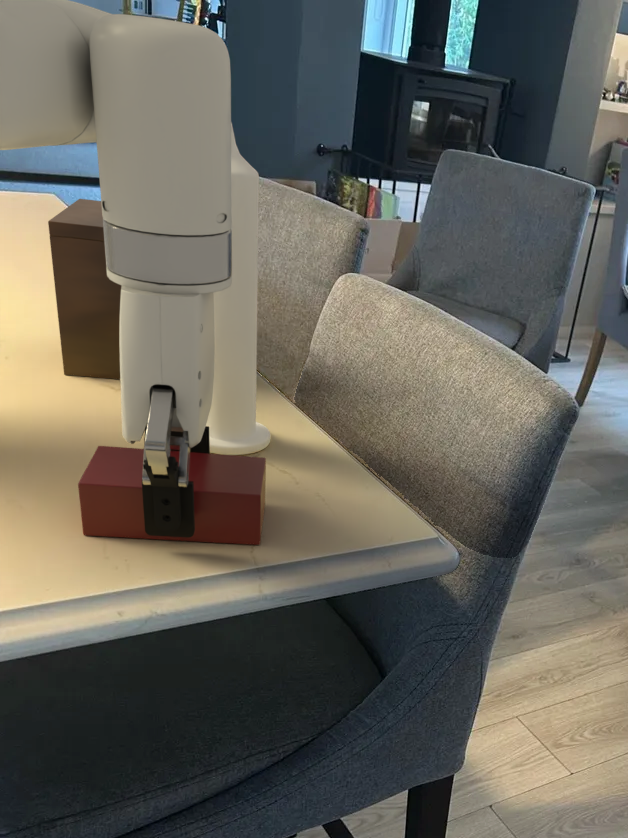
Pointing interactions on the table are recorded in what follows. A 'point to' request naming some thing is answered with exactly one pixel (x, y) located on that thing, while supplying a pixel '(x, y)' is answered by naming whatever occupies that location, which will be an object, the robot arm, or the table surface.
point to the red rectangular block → (213, 496)
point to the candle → (238, 326)
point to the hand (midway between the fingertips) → (179, 502)
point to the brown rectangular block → (85, 292)
